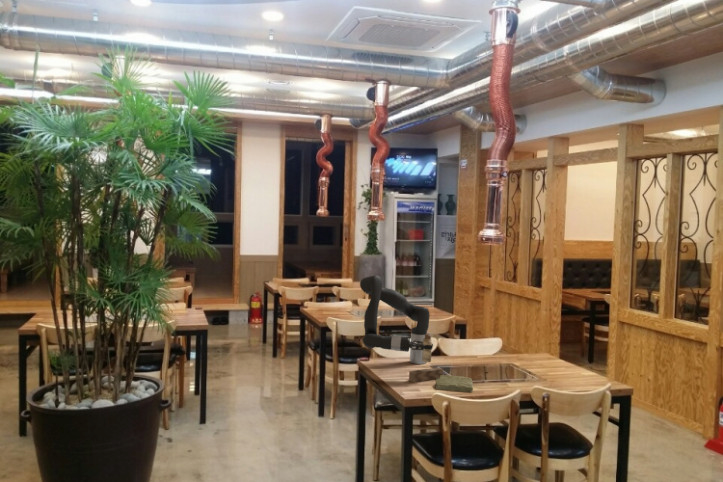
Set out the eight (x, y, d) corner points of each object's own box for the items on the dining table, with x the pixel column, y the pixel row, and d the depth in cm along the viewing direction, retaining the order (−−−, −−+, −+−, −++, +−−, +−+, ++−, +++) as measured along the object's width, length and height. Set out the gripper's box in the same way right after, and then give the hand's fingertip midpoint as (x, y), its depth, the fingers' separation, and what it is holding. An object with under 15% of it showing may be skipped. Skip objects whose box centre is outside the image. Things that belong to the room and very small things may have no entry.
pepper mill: (426, 359, 337) (428, 333, 337) (432, 361, 333) (434, 335, 333) (420, 360, 334) (421, 334, 334) (426, 362, 331) (427, 336, 330)
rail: (437, 376, 342) (438, 367, 341) (442, 378, 338) (443, 369, 338) (408, 380, 330) (409, 371, 330) (413, 382, 327) (414, 372, 327)
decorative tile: (471, 383, 333) (471, 376, 333) (472, 393, 313) (473, 386, 313) (435, 380, 335) (436, 373, 335) (434, 390, 315) (435, 383, 315)
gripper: (399, 339, 329) (432, 342, 326) (402, 334, 343) (433, 337, 340) (398, 353, 329) (431, 356, 326) (401, 348, 343) (433, 351, 340)
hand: (432, 346), depth 333 cm, fingers closed on pepper mill, 4 cm apart
